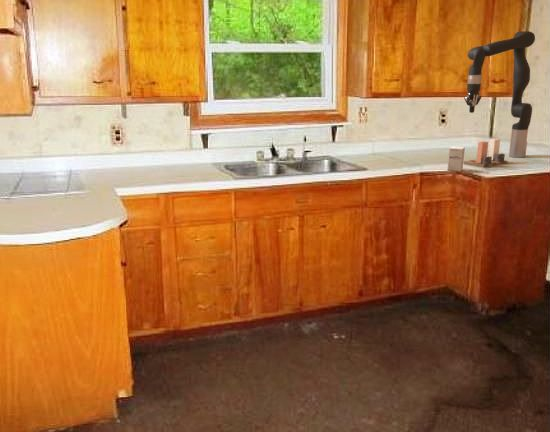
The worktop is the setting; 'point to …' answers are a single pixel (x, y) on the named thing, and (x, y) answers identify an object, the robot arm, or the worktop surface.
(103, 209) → the worktop surface
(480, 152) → the pink tall block
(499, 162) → the switch bench
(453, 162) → the supplement box
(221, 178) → the worktop surface
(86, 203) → the worktop surface
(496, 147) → the key white
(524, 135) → the robot arm
